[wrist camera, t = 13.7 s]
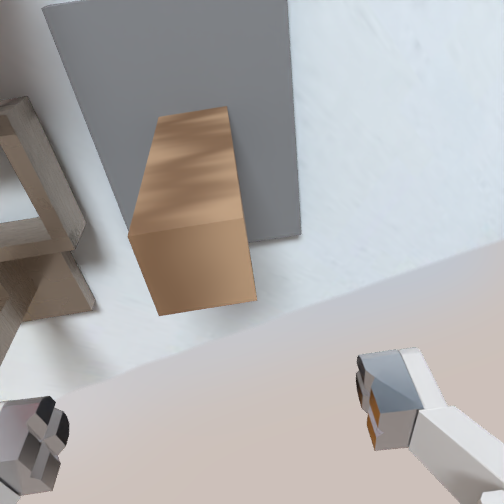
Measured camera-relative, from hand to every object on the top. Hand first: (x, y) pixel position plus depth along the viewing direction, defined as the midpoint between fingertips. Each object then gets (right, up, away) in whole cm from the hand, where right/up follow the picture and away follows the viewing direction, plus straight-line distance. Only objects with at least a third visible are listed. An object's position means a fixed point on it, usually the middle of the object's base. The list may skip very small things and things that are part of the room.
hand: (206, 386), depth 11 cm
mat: (-2, +11, +14) cm, 18 cm away
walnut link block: (-2, +10, +14) cm, 17 cm away
